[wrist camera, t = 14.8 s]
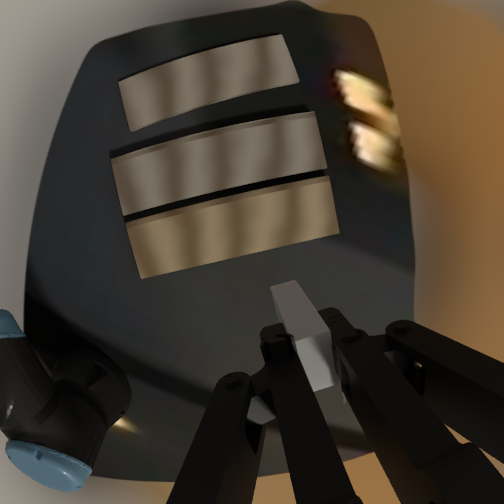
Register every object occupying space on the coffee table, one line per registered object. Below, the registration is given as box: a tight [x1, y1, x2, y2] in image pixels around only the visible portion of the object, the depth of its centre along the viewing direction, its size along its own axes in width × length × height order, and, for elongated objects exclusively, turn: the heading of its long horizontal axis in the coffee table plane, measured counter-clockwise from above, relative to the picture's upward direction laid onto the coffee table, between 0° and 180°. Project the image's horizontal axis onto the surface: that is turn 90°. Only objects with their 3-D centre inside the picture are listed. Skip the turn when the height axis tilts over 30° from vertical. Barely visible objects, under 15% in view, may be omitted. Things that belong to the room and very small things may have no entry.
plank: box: [118, 35, 299, 132], centre depth 36 cm, size 24×8×1 cm, turn 107°
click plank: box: [111, 111, 327, 216], centre depth 38 cm, size 28×8×1 cm, turn 102°
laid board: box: [125, 175, 339, 279], centre depth 40 cm, size 28×8×1 cm, turn 102°
